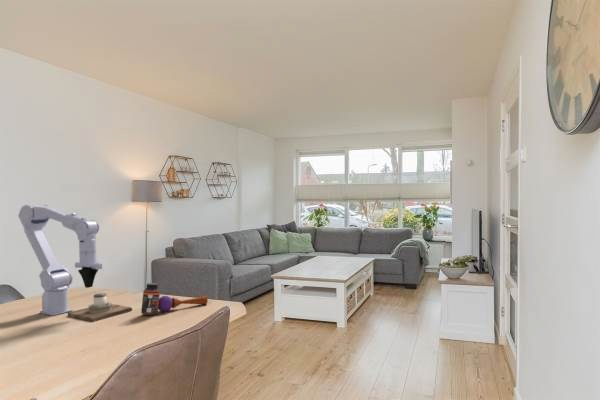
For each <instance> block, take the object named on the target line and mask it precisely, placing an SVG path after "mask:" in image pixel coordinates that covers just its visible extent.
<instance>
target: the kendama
mask: <svg viewBox="0 0 600 400" xmlns="http://www.w3.org/2000/svg"><path fill="white" fill-rule="evenodd" d="M182 304H184V305H185V304H186V305H207V304H208V296H207V295H204V296H201V297H195V298H194V297H193V298H188V299H183V300H181V299H178V298H175V297H172V298H171V297H170V296H168V295H162V296H159V306H158V311H160V312H163V313H165V312H168V311H170V310H171V309H175V308H177V307H178V306H181V305H182Z"/></svg>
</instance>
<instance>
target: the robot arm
mask: <svg viewBox="0 0 600 400" xmlns="http://www.w3.org/2000/svg"><path fill="white" fill-rule="evenodd" d="M17 216H18V218H19V220H20V222H21V224H22V227H23V230H24V233H25V236H26V238H27V239H28V242H29V244H30V247H31V248H32V250H33V252H34V254H35V256H36V258H37V261H38V262H39V264H40V266H41V268H42V271H41V272H40V274H39V275H38V277H39V279H40V286H41V287H42V289H43V290H44V291H43V293H42V295H41V311H40V310H39V314H43V315H49V316H57V315H60V314H61V315H62V314H65V313H69V312H73V311H74V309H72V308H69V291H68V290H69V288H70V285H72V283H73V280H74V279H73V274H72V272H70V271H69V270H68V268H67V266H64V265H63V264H60V263H59V262H58V260H57V258H56V256H55V254H54V252H53V250H52V248H51V246H50V244H49V242H48V240H47V237H46V236H45V234H44V232H43V228H45V227H46V225H47V223H48V222H49V220H50V219H51V220H54V221H56V222H60V223H61V224H62V227H64V228H66V229H68V230H71V231H73V232H75V234H76V236H77V240H78V249H79V251H78V253H79V254H78V255H79V258H78V259H79V261H78V262H74V268H76V269H77V268H81V269H78V273H79V274H80V276H81V279H82V281H83V284H84V288H85V289H86V288H87V289H88V288H93V286H94V282H95V278H96V275H97V273H98V271H99V270H102V269H103V263H100V262H97V234H98V232H99V230H100V224H99V223H98V222H97V221H96V220H95V219H89V220H88V219H87V217H84V216H83V217H81V216H79V215H77V213H75V212H71V213H67V214H66V213H64V212H63V211H59V210H58V209H55V208H54V207H53V206H51V205H48V204H41V205H39V204H37V205H35V204H34V205H29V204H25V205H22V206H21V207H20V210H19V212H18V215H17Z"/></svg>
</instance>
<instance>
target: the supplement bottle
mask: <svg viewBox="0 0 600 400" xmlns="http://www.w3.org/2000/svg"><path fill="white" fill-rule="evenodd" d="M158 287H159V284H158V283H156V282H149V283H147V284H146V288H145V289H144V290H143V293H142V301H141V302H142V303H141V309H140V310H141V312H140V313H141V314H142V315H143V316H154V315H157V314H159V313H158V312H159V309H158V306H159V298H160V297H161V296H160V294H161V293H160V292H161V290H160V289H159V288H158Z"/></svg>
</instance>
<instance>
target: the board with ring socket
mask: <svg viewBox="0 0 600 400" xmlns="http://www.w3.org/2000/svg"><path fill="white" fill-rule="evenodd" d="M131 311H133V307H130V306H125V305H120V304H116V303H115V304H114V303H112V302H110V301H108V302H107V306H102V307H94V303H91V304H90V305H88V307H86V308H81V309H78V310H73V311H69V312H67V316H68V317H71V318H76V319H80V320H84V321H89V322H97V321H100V320H101V321H102V320H104V319H107V318H108V319H109V318H110V317H114V316H118V315H121V314H125V313H128V312H131Z"/></svg>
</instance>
